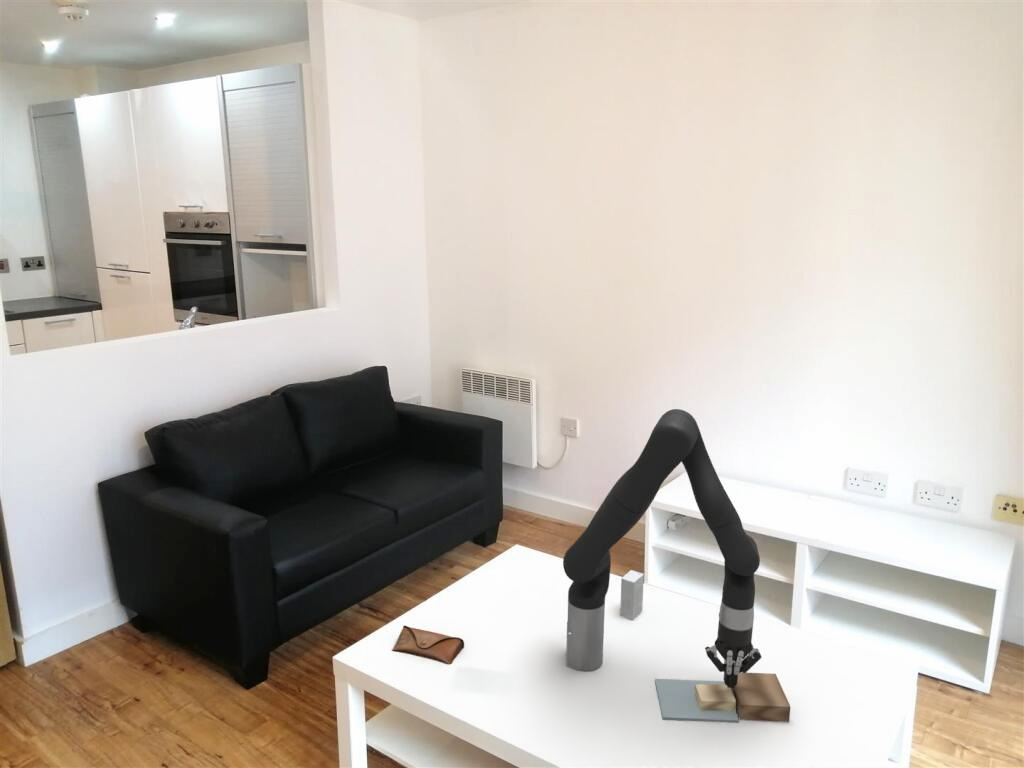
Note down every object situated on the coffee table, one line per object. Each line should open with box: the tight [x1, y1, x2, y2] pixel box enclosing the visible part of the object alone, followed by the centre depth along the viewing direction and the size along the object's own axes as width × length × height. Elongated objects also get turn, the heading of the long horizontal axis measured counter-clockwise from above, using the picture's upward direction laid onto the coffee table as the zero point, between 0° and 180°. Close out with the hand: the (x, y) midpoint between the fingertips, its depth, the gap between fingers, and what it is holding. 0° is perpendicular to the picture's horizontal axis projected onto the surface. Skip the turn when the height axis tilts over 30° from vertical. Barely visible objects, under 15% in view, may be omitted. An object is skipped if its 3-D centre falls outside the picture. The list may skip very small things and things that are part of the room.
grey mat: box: [654, 678, 740, 724], centre depth 177 cm, size 17×14×1 cm
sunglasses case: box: [391, 625, 465, 665], centre depth 196 cm, size 18×7×7 cm
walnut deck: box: [731, 672, 792, 723], centre depth 175 cm, size 11×12×4 cm
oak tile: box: [695, 684, 736, 711], centre depth 175 cm, size 8×6×2 cm
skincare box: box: [619, 569, 645, 621], centre depth 212 cm, size 6×4×12 cm
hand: (730, 685), depth 175 cm, fingers closed
